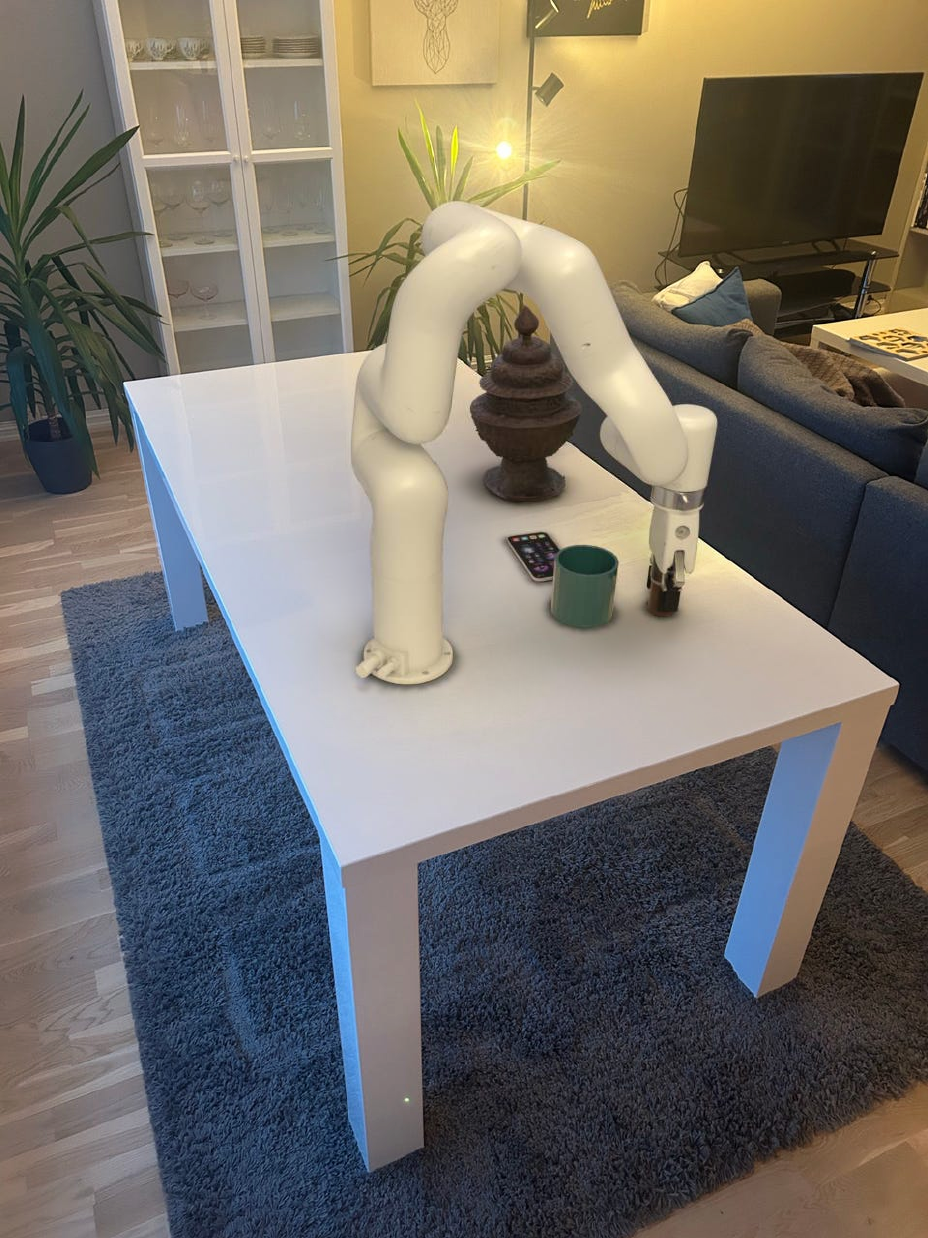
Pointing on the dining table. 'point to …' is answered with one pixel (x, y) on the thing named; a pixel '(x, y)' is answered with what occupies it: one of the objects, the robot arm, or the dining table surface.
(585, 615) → the cup
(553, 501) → the dining table surface
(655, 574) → the brown rounded cylinder
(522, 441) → the decorative urn
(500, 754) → the dining table surface
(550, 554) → the smartphone
